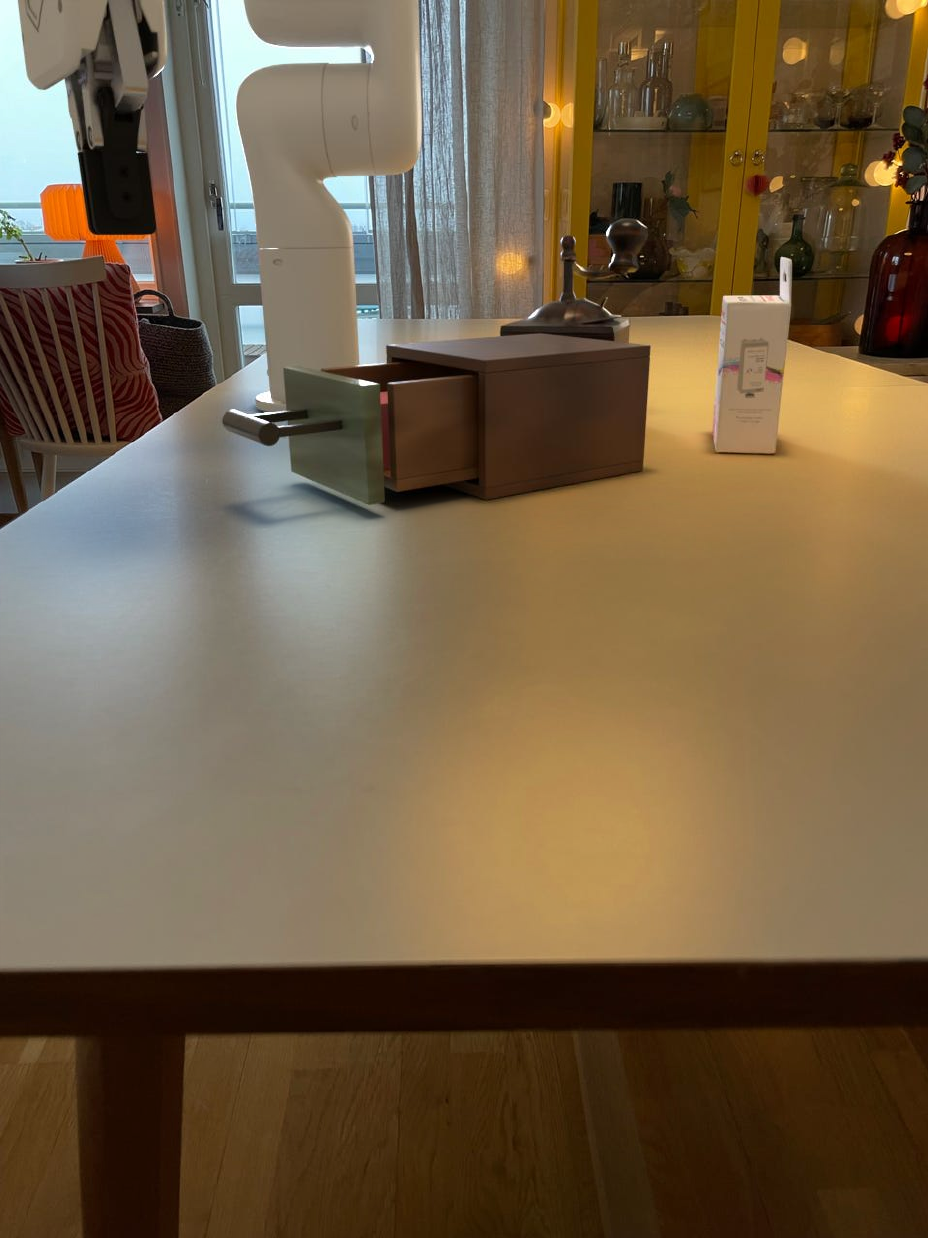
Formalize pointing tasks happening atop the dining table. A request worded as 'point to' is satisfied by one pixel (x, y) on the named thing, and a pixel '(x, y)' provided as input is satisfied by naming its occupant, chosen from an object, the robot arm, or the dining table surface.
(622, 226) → the manual coffee grinder
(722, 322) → the ink cartridge box
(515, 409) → the cabinet
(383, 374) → the drawer
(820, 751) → the dining table surface
